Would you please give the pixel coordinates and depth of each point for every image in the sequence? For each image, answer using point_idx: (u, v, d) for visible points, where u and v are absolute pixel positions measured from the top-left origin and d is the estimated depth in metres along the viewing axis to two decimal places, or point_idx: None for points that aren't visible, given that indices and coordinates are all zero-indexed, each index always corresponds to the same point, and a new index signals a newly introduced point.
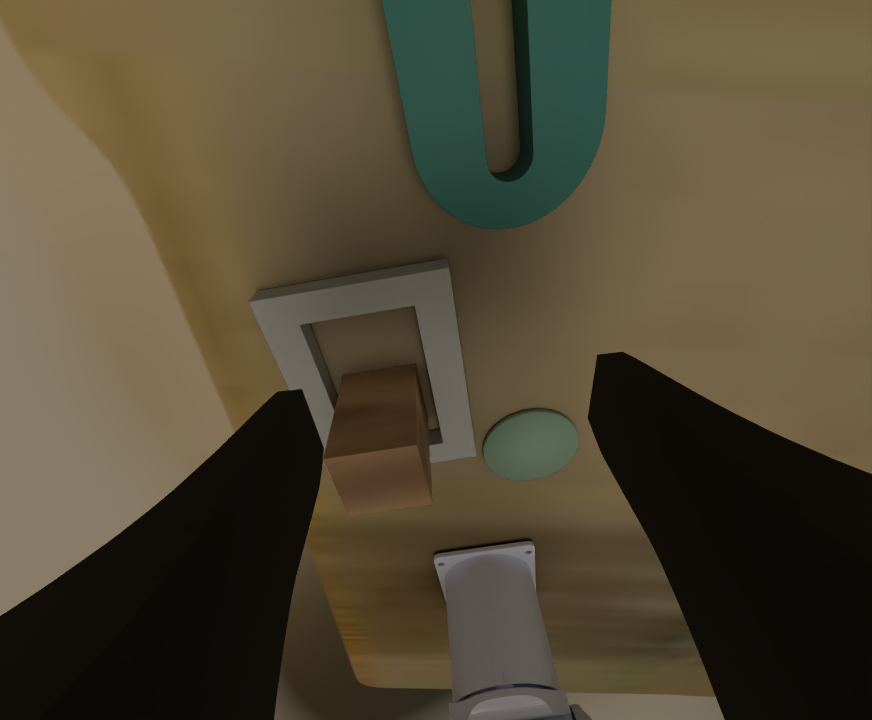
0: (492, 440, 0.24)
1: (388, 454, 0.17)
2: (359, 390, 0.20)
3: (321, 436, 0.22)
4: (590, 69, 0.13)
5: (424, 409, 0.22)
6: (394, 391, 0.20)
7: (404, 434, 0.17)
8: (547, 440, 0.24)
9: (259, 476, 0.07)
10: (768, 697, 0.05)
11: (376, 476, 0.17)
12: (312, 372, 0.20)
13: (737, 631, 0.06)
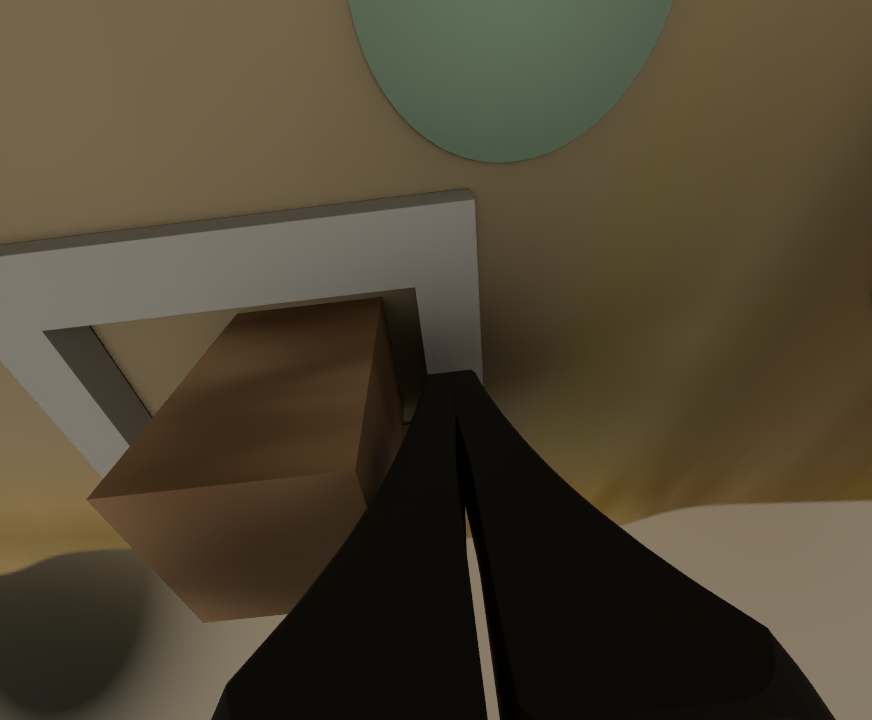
0: (454, 135, 0.08)
1: (149, 546, 0.07)
2: None
3: None
4: None
5: (330, 314, 0.10)
6: None
7: None
8: None
9: (457, 454, 0.07)
10: None
11: (242, 564, 0.07)
12: None
13: (494, 657, 0.06)
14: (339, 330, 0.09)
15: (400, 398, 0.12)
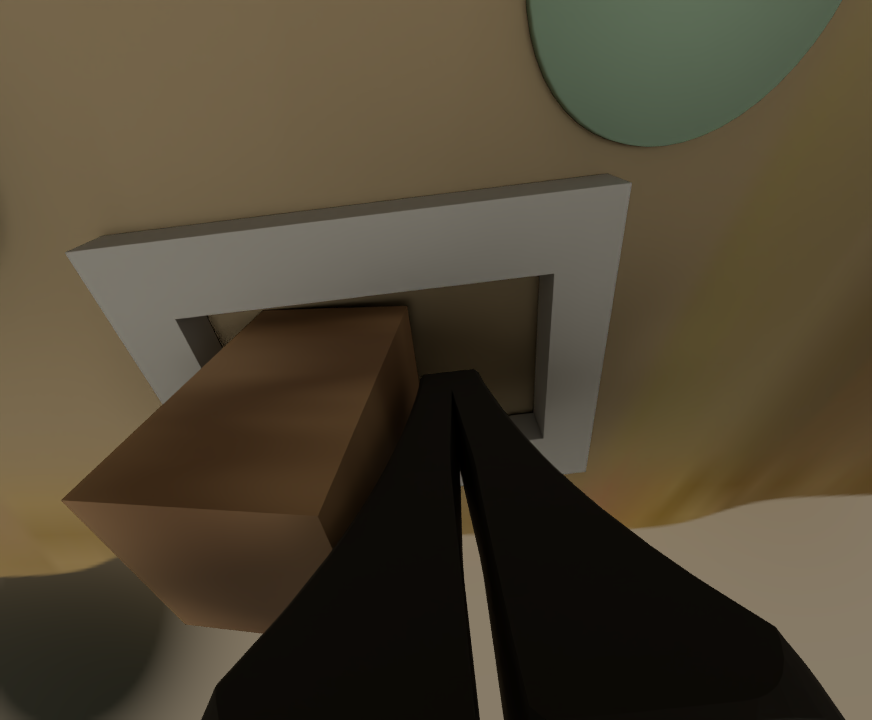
0: (610, 118, 0.08)
1: (124, 550, 0.06)
2: None
3: None
4: None
5: (350, 320, 0.10)
6: None
7: None
8: None
9: (452, 454, 0.07)
10: None
11: (214, 581, 0.07)
12: None
13: (499, 656, 0.06)
14: (353, 340, 0.09)
15: None
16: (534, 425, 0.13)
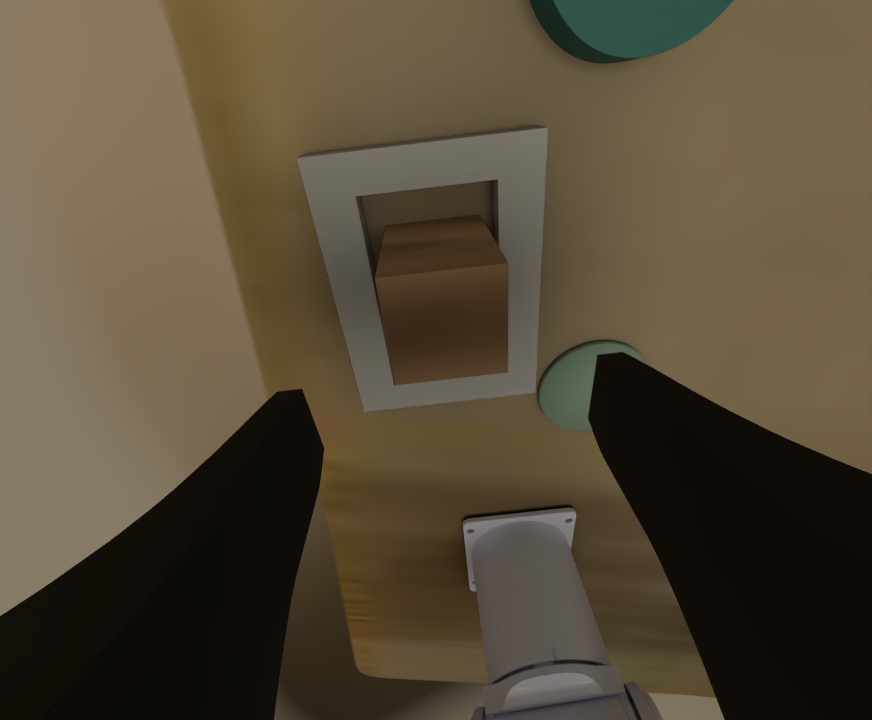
0: (552, 377, 0.21)
1: (466, 277, 0.12)
2: (411, 233, 0.15)
3: (361, 355, 0.19)
4: None
5: None
6: (459, 231, 0.15)
7: (486, 257, 0.12)
8: None
9: (259, 476, 0.07)
10: (768, 697, 0.05)
11: (443, 317, 0.13)
12: (362, 266, 0.16)
13: (737, 631, 0.06)
14: None
15: None
16: (393, 376, 0.20)
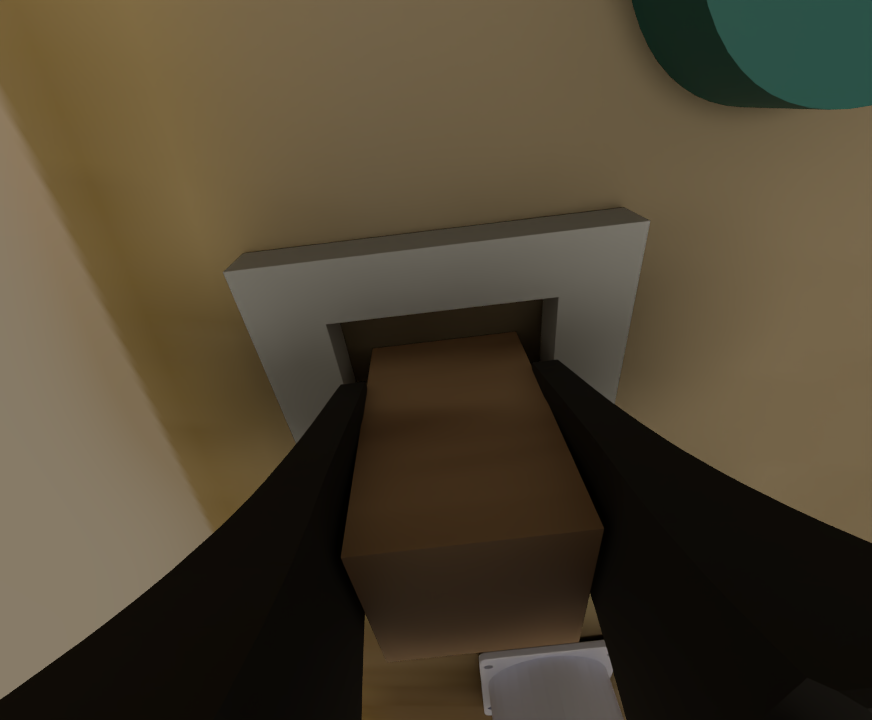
0: None
1: (519, 549, 0.06)
2: (411, 378, 0.10)
3: None
4: None
5: None
6: (489, 382, 0.09)
7: (554, 492, 0.07)
8: None
9: (342, 467, 0.07)
10: (653, 709, 0.05)
11: (471, 593, 0.07)
12: None
13: (632, 642, 0.06)
14: None
15: None
16: None
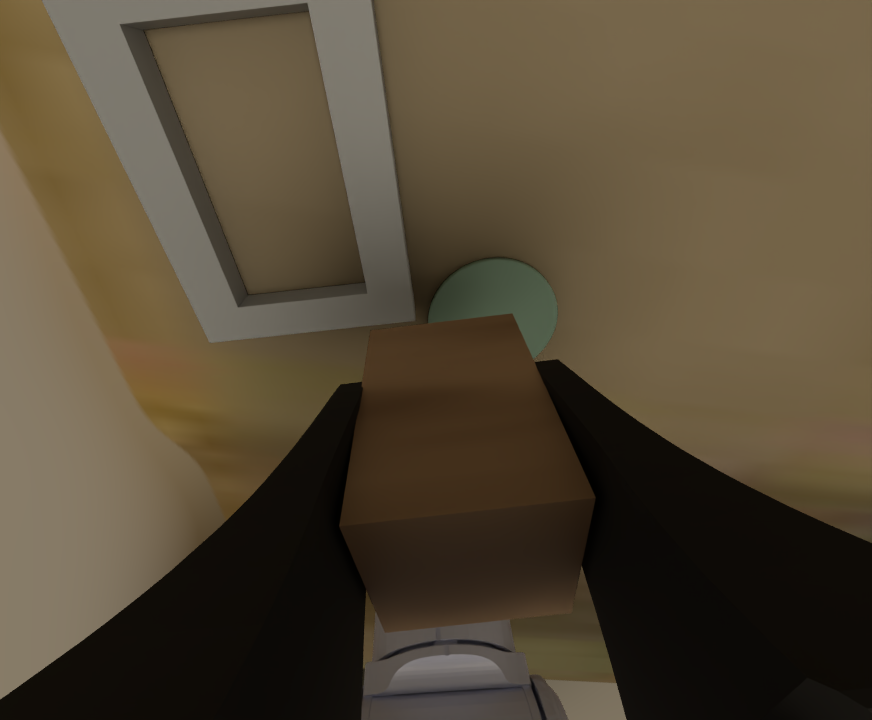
0: (440, 304, 0.18)
1: (513, 518, 0.06)
2: (408, 358, 0.10)
3: (186, 265, 0.15)
4: None
5: None
6: (486, 362, 0.09)
7: (547, 464, 0.07)
8: (515, 311, 0.18)
9: (342, 466, 0.07)
10: (654, 709, 0.05)
11: (467, 564, 0.07)
12: (155, 133, 0.13)
13: (632, 642, 0.06)
14: None
15: None
16: (242, 298, 0.17)
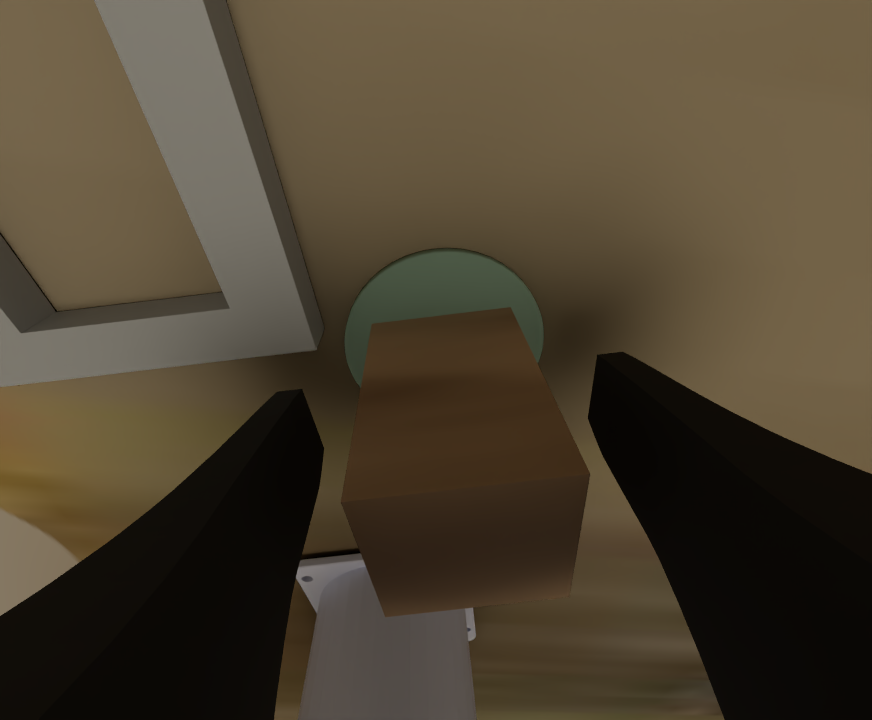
0: (359, 322, 0.11)
1: (510, 494, 0.06)
2: (409, 349, 0.10)
3: None
4: None
5: None
6: (484, 352, 0.09)
7: (543, 444, 0.07)
8: None
9: (259, 476, 0.07)
10: (767, 697, 0.05)
11: (466, 543, 0.07)
12: None
13: (737, 631, 0.06)
14: None
15: None
16: (36, 318, 0.10)
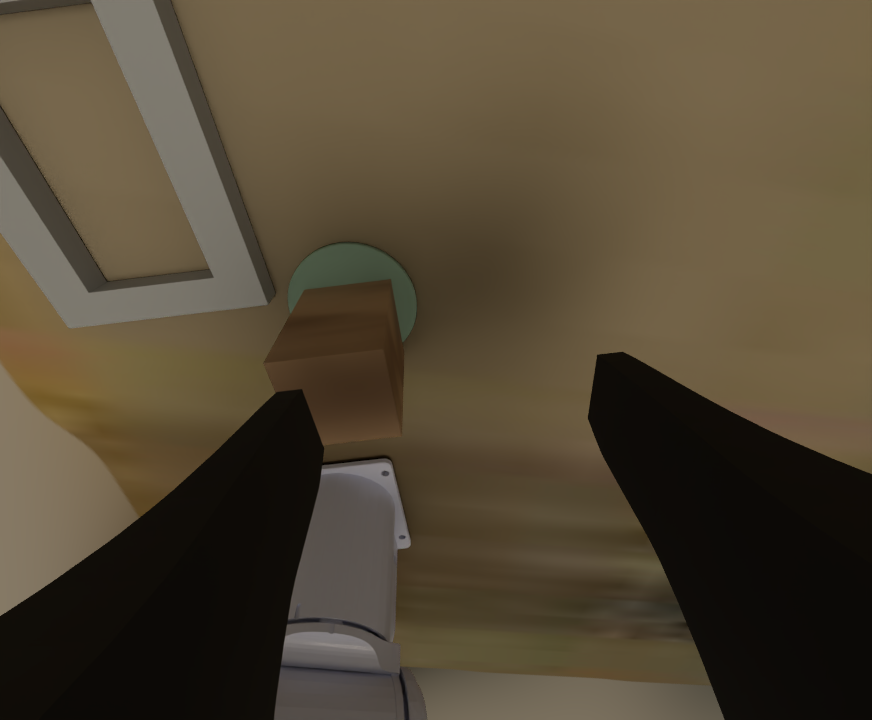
0: (296, 288, 0.18)
1: (346, 361, 0.13)
2: (320, 302, 0.17)
3: (28, 250, 0.16)
4: None
5: (399, 337, 0.19)
6: (362, 302, 0.16)
7: (368, 339, 0.14)
8: None
9: (259, 476, 0.07)
10: (767, 696, 0.05)
11: (332, 392, 0.14)
12: None
13: (737, 631, 0.06)
14: (400, 355, 0.18)
15: None
16: (96, 284, 0.17)
